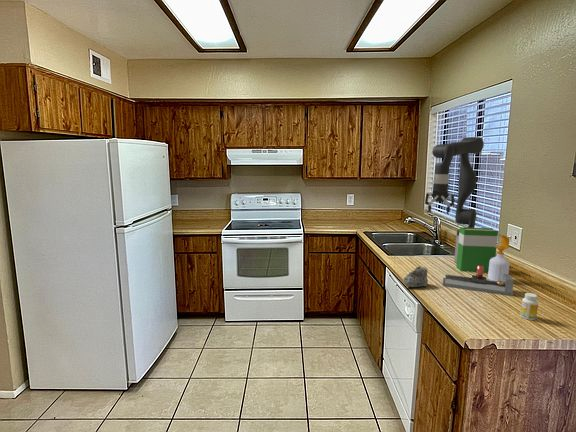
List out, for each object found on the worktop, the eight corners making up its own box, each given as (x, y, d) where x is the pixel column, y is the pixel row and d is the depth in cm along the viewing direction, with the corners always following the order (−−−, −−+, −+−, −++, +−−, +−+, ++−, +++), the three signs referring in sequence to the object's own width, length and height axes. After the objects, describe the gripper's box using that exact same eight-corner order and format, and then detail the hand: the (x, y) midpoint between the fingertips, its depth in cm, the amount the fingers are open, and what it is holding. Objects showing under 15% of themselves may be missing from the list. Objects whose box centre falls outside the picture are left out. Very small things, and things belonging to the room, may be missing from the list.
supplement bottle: (518, 317, 139) (521, 294, 138) (521, 313, 143) (524, 291, 142) (535, 321, 136) (538, 298, 134) (537, 317, 140) (540, 294, 138)
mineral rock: (404, 289, 169) (405, 269, 168) (399, 281, 180) (400, 262, 178) (431, 290, 168) (433, 270, 167) (425, 282, 179) (426, 263, 177)
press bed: (443, 280, 182) (444, 266, 181) (510, 289, 169) (511, 274, 168) (442, 285, 174) (443, 271, 173) (513, 296, 161) (514, 280, 160)
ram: (471, 281, 175) (473, 263, 173) (485, 283, 172) (487, 265, 171) (472, 285, 170) (473, 266, 168) (486, 287, 167) (488, 268, 166)
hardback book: (488, 268, 202) (492, 228, 199) (493, 272, 195) (498, 230, 191) (456, 267, 205) (459, 227, 201) (460, 271, 197) (464, 229, 194)
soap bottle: (483, 278, 186) (488, 233, 182) (496, 276, 189) (500, 232, 185) (499, 283, 177) (504, 236, 174) (511, 281, 181) (517, 235, 177)
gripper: (455, 182, 185) (453, 212, 187) (427, 181, 191) (424, 211, 193) (455, 183, 178) (453, 214, 181) (426, 182, 184) (423, 212, 187)
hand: (438, 212), depth 187 cm, fingers open, 8 cm apart
